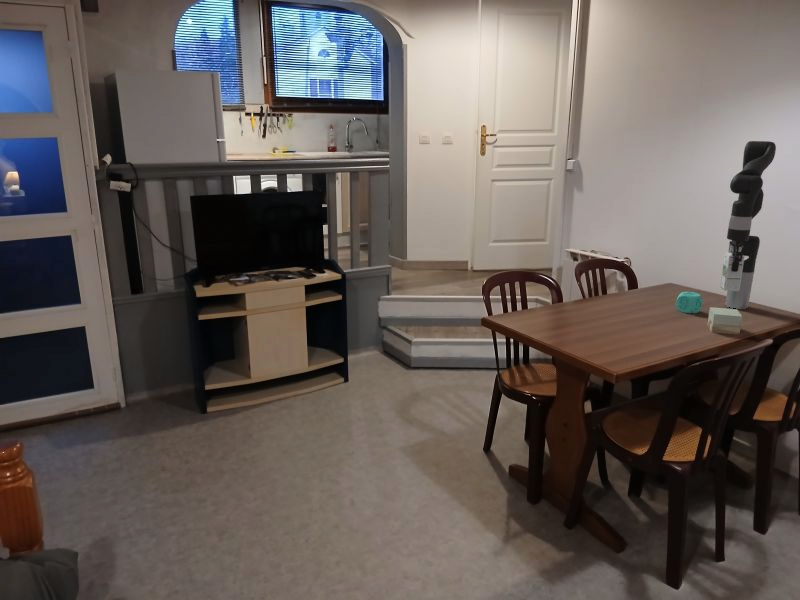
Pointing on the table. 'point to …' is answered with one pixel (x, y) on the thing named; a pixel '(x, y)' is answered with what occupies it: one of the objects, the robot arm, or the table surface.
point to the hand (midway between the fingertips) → (732, 269)
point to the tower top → (725, 316)
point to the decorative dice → (689, 302)
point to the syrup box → (731, 274)
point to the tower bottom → (723, 328)
